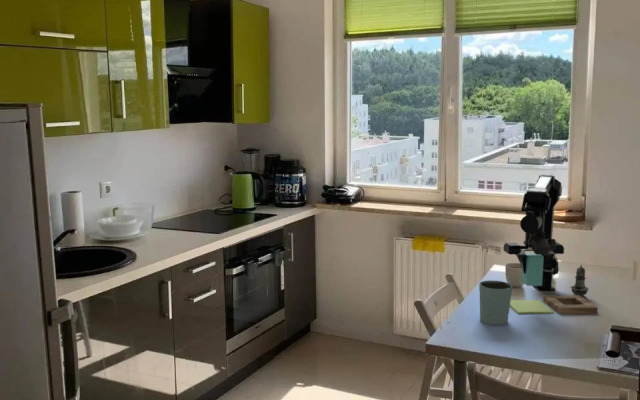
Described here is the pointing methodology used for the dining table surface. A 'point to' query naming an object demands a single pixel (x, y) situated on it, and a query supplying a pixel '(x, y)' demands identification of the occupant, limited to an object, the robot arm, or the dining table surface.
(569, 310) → the frame
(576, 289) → the dark grey upright piece
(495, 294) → the green cup
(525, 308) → the olive mat
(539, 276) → the teal peg
